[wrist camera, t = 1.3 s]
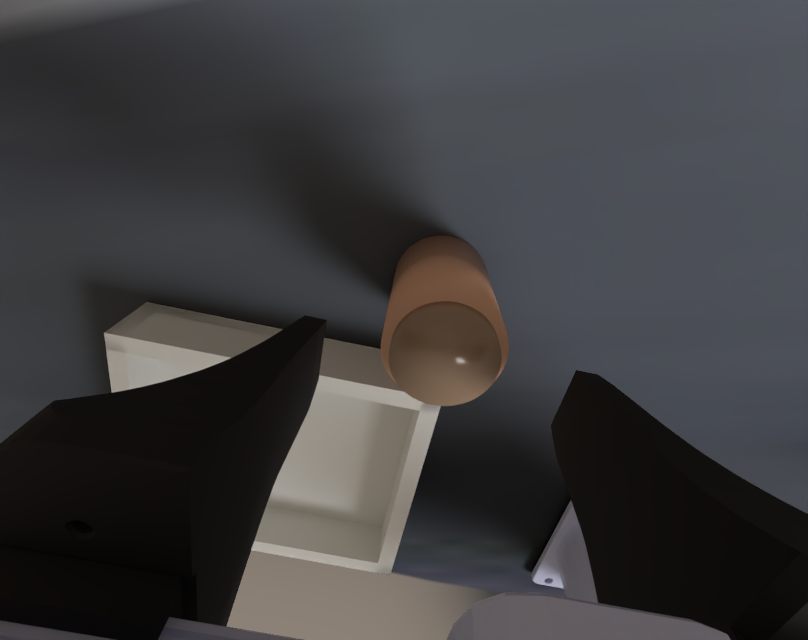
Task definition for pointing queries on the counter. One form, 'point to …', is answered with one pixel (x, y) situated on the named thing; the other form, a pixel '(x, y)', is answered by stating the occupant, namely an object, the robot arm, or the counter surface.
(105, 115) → the counter surface
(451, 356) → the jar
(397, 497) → the tray
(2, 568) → the robot arm
